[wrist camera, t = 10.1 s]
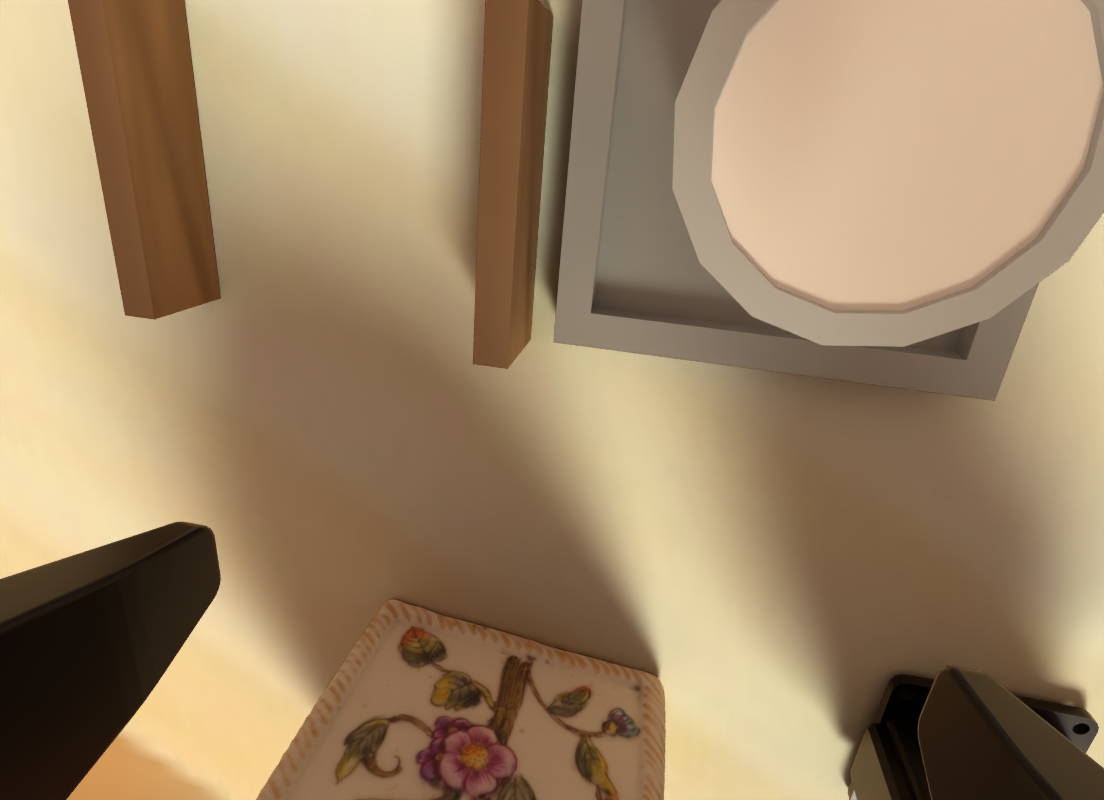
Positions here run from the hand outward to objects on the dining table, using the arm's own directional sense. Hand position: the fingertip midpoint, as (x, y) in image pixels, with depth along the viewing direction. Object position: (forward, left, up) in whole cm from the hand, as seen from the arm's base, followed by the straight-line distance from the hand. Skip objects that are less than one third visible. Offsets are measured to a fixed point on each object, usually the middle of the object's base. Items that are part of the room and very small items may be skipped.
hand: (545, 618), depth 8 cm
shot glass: (-4, -6, -12) cm, 14 cm away
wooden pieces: (+9, -4, -13) cm, 16 cm away
